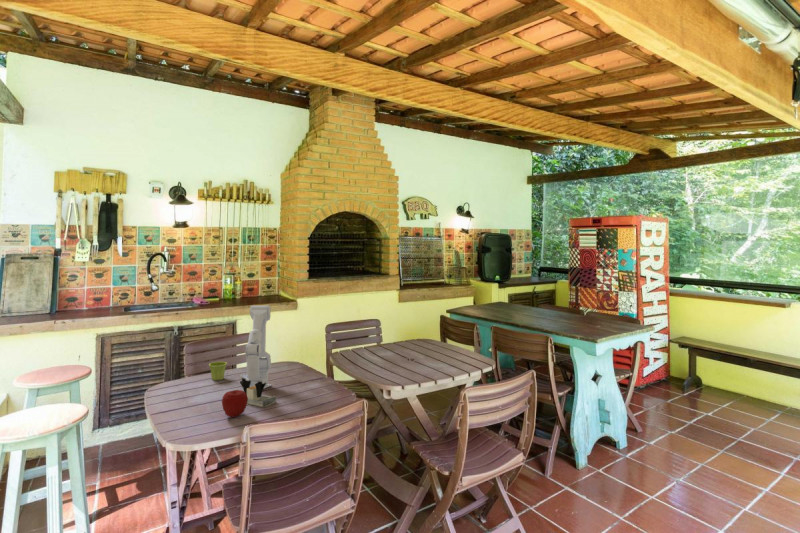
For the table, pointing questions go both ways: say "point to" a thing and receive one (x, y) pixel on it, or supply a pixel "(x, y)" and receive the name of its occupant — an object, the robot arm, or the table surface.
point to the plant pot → (217, 370)
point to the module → (252, 393)
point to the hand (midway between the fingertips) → (253, 395)
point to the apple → (234, 402)
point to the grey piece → (262, 401)
